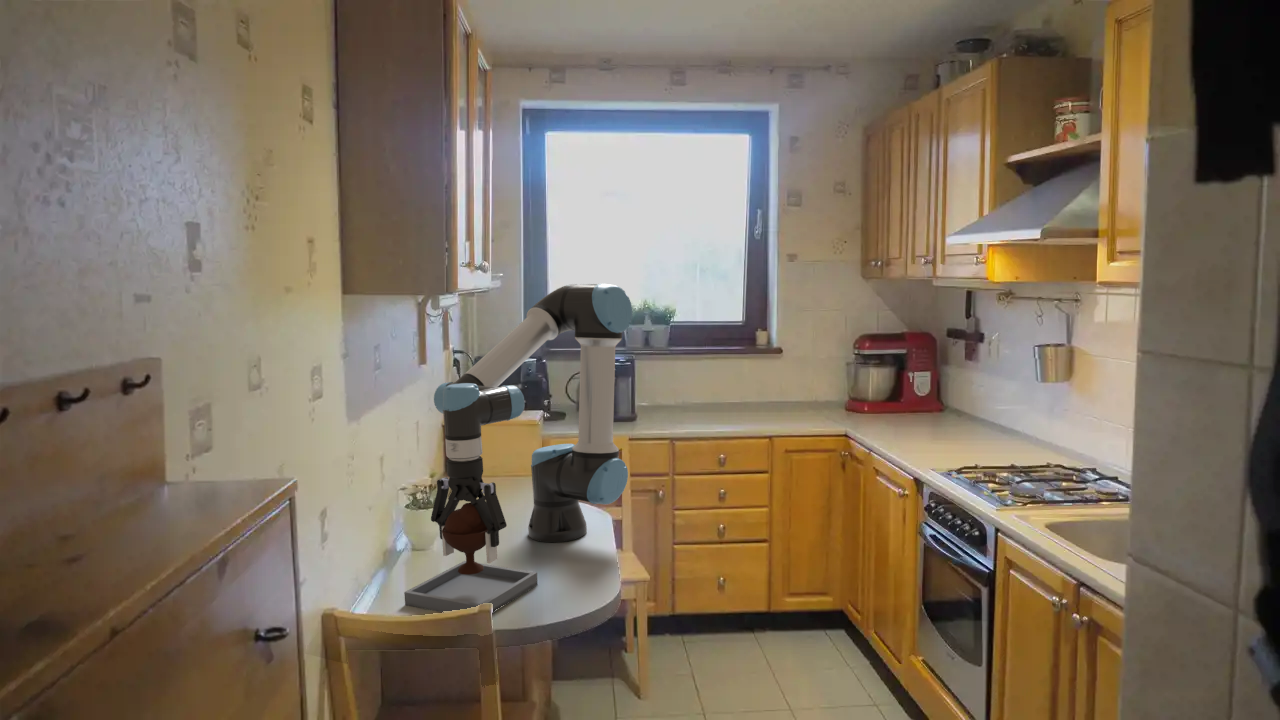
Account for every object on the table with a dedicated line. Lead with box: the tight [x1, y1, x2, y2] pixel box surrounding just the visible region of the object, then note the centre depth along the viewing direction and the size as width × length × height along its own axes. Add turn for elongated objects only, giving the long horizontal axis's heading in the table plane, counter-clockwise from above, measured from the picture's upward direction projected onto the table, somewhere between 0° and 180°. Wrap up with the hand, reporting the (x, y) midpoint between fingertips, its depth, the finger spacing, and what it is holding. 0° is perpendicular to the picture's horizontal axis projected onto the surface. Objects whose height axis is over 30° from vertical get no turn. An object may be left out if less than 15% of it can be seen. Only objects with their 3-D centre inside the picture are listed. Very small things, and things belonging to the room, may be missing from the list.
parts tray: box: [404, 560, 538, 613], centre depth 188 cm, size 20×20×3 cm
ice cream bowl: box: [442, 502, 493, 575], centre depth 186 cm, size 11×11×15 cm
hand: (470, 557), depth 187 cm, fingers closed on ice cream bowl, 11 cm apart
